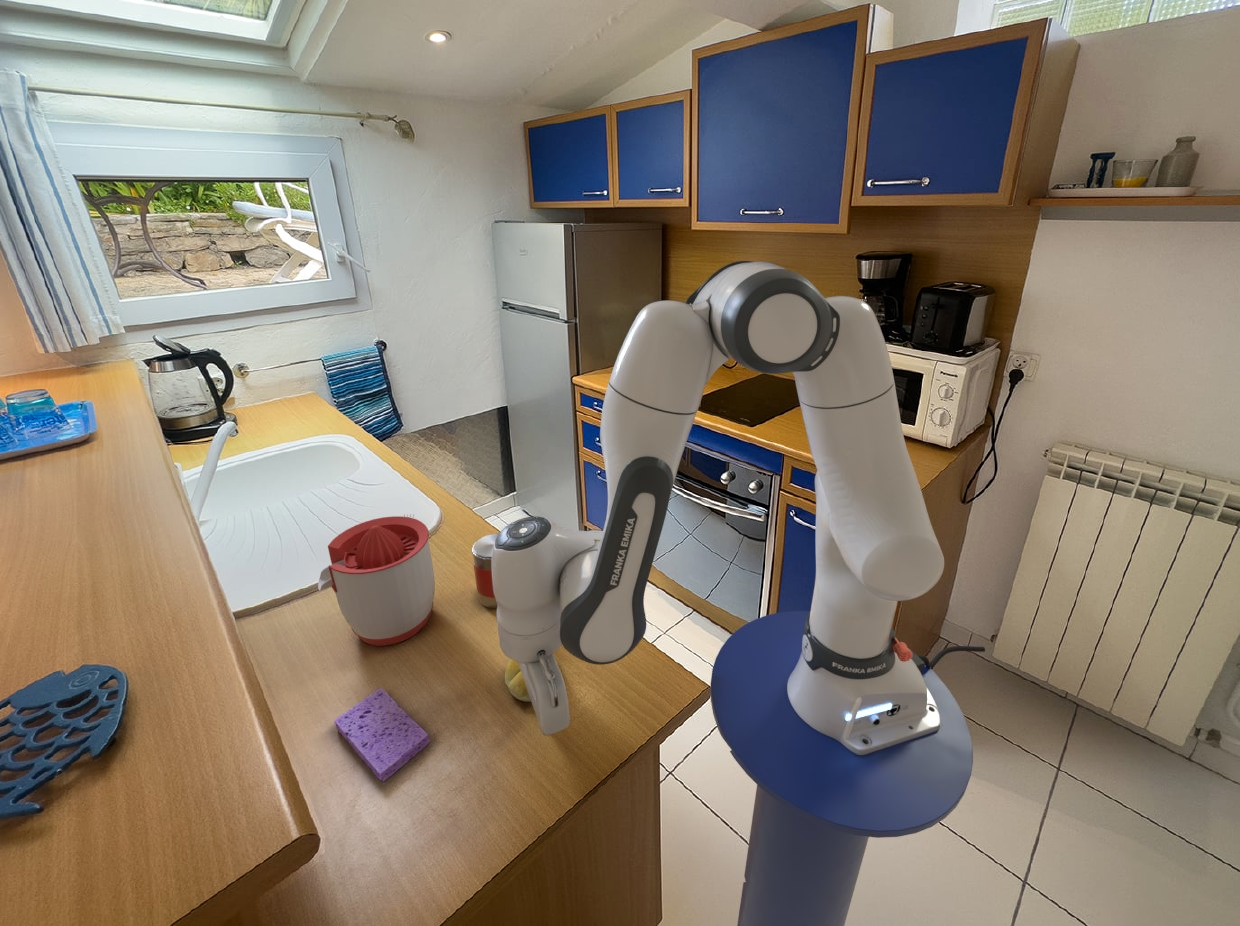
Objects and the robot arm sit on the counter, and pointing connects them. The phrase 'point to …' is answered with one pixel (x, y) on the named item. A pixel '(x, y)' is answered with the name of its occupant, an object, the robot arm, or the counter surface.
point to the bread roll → (516, 681)
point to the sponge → (382, 733)
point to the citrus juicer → (382, 578)
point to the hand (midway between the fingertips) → (538, 701)
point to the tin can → (484, 569)
